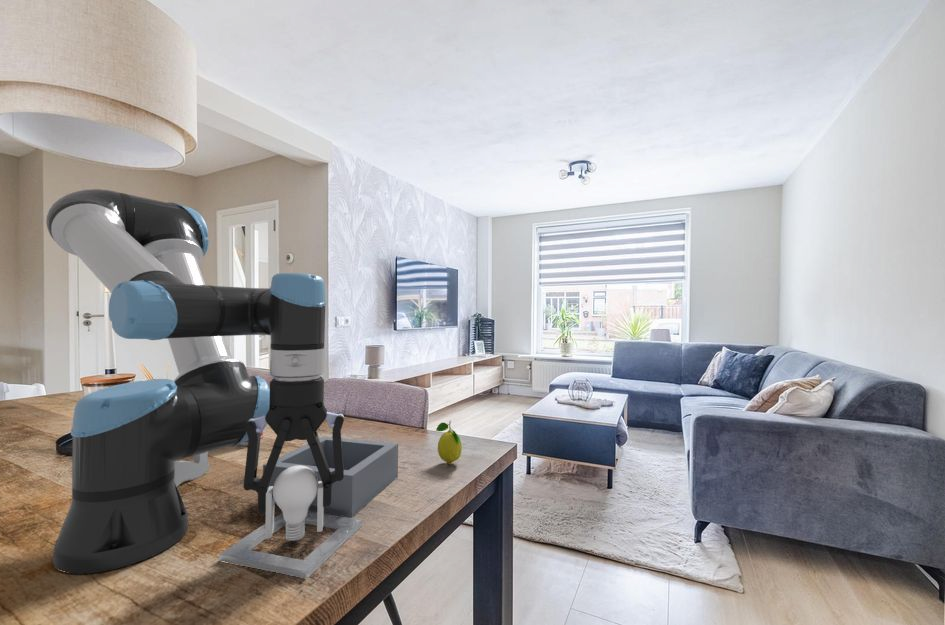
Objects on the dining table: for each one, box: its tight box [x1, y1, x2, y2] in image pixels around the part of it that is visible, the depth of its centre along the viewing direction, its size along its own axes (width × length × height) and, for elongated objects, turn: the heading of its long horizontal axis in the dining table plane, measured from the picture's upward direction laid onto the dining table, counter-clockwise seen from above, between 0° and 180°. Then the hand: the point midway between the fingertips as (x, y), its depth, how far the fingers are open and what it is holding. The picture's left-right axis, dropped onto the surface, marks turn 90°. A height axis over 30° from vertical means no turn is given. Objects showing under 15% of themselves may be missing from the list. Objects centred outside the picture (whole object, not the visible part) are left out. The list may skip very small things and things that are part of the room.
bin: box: [262, 435, 399, 518], centre depth 81 cm, size 18×18×7 cm
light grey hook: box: [175, 452, 211, 488], centre depth 84 cm, size 6×1×10 cm
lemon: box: [435, 420, 463, 465], centre depth 95 cm, size 7×6×10 cm
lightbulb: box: [273, 465, 319, 542], centre depth 62 cm, size 6×6×11 cm
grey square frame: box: [218, 511, 363, 579], centre depth 62 cm, size 14×14×1 cm
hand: (295, 530), depth 62 cm, fingers closed on lightbulb, 6 cm apart
